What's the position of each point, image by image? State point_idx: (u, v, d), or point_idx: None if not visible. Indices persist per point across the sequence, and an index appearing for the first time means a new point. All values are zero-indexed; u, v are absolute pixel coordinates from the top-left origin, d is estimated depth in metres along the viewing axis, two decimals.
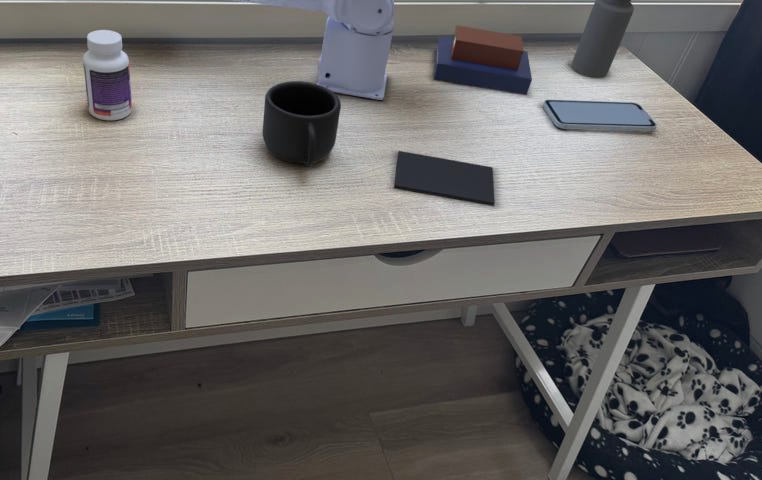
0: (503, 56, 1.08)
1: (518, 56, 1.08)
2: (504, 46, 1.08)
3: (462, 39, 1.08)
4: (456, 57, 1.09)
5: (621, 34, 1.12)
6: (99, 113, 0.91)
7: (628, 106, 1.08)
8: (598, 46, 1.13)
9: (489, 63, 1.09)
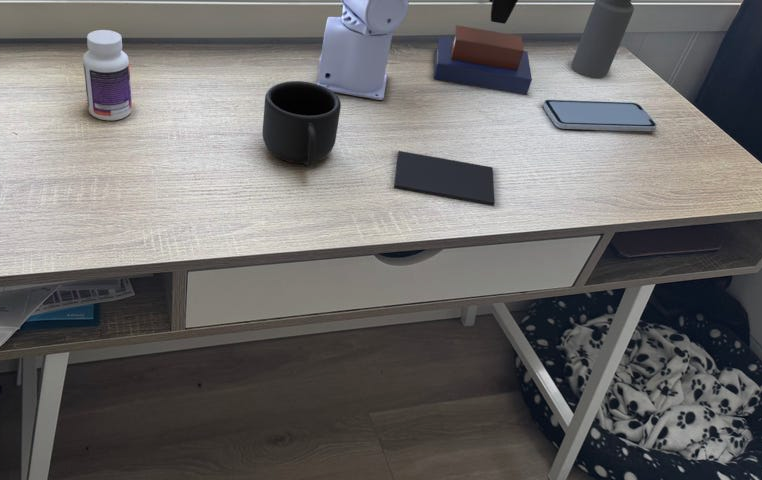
0: (503, 56, 1.08)
1: (518, 56, 1.08)
2: (504, 46, 1.08)
3: (462, 39, 1.08)
4: (456, 57, 1.09)
5: (621, 34, 1.12)
6: (99, 113, 0.91)
7: (628, 106, 1.08)
8: (598, 46, 1.13)
9: (489, 63, 1.09)
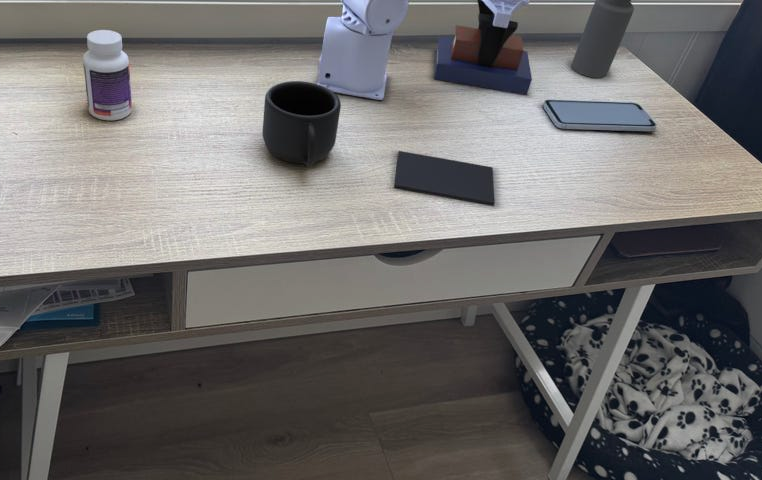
0: (503, 56, 1.08)
1: (518, 56, 1.08)
2: (504, 46, 1.08)
3: (462, 39, 1.08)
4: (456, 57, 1.09)
5: (621, 34, 1.12)
6: (99, 113, 0.91)
7: (628, 106, 1.08)
8: (598, 46, 1.13)
9: None
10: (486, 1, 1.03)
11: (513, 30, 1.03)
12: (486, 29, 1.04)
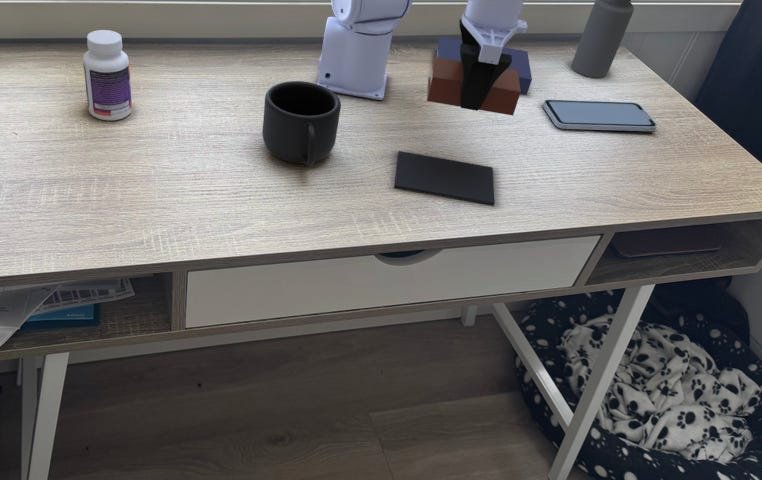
0: (495, 98, 0.83)
1: (514, 98, 0.83)
2: (495, 85, 0.83)
3: (440, 76, 0.83)
4: (434, 99, 0.84)
5: (621, 34, 1.12)
6: (99, 113, 0.91)
7: (628, 106, 1.08)
8: (598, 46, 1.13)
9: None
10: (470, 28, 0.78)
11: (506, 66, 0.78)
12: (470, 65, 0.79)
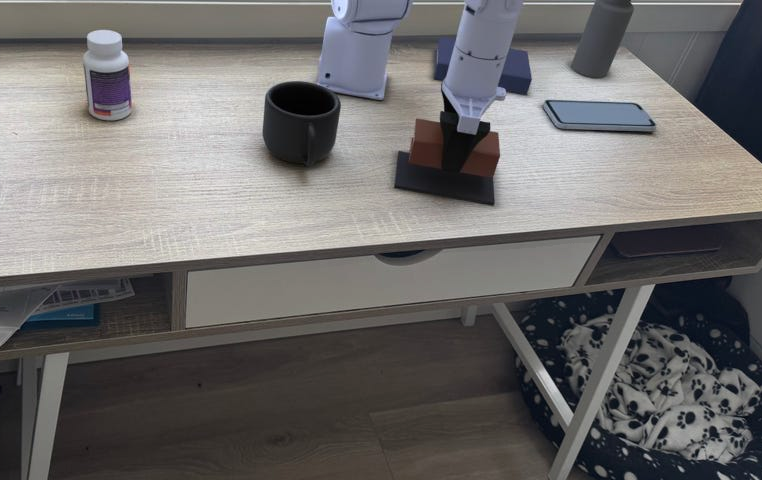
0: (475, 161, 0.85)
1: (493, 162, 0.85)
2: (475, 149, 0.85)
3: (422, 140, 0.85)
4: (415, 161, 0.86)
5: (621, 34, 1.12)
6: (99, 113, 0.91)
7: (628, 106, 1.08)
8: (598, 46, 1.13)
9: None
10: (449, 97, 0.80)
11: (484, 134, 0.80)
12: (450, 132, 0.81)
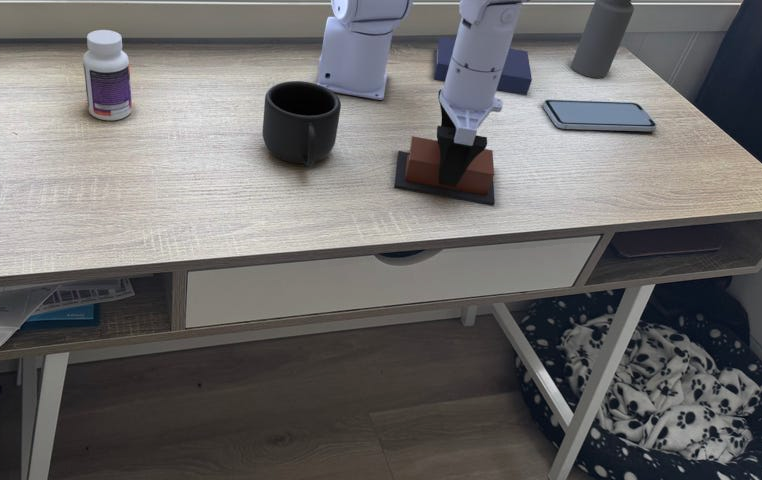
0: (469, 179, 0.87)
1: (487, 180, 0.86)
2: (470, 167, 0.86)
3: (417, 158, 0.86)
4: (411, 179, 0.88)
5: (621, 34, 1.12)
6: (99, 113, 0.91)
7: (628, 106, 1.08)
8: (598, 46, 1.13)
9: None
10: (446, 108, 0.81)
11: (481, 149, 0.80)
12: (447, 147, 0.81)
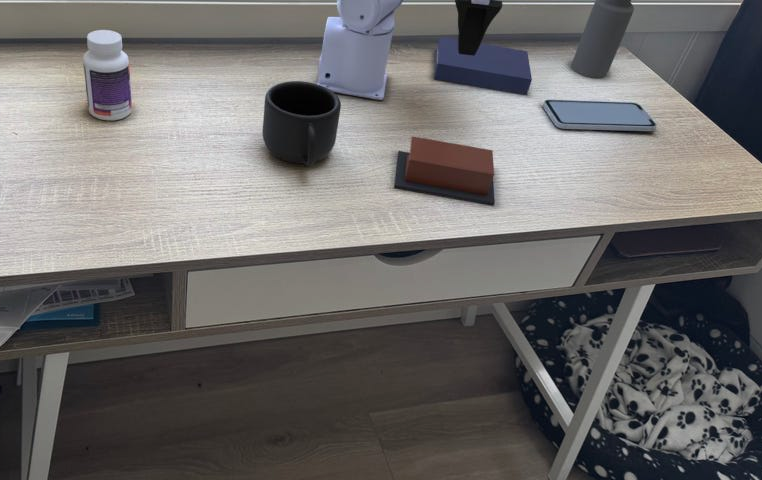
0: (469, 179, 0.87)
1: (487, 180, 0.86)
2: (470, 167, 0.86)
3: (417, 158, 0.86)
4: (411, 179, 0.88)
5: (621, 34, 1.12)
6: (99, 113, 0.91)
7: (628, 106, 1.08)
8: (598, 46, 1.13)
9: (452, 186, 0.88)
10: None
11: (497, 10, 0.86)
12: (465, 11, 0.87)
